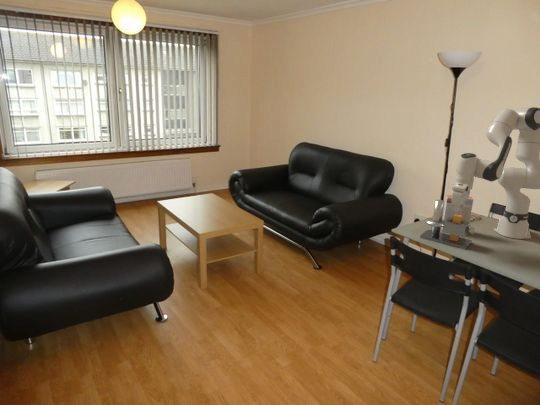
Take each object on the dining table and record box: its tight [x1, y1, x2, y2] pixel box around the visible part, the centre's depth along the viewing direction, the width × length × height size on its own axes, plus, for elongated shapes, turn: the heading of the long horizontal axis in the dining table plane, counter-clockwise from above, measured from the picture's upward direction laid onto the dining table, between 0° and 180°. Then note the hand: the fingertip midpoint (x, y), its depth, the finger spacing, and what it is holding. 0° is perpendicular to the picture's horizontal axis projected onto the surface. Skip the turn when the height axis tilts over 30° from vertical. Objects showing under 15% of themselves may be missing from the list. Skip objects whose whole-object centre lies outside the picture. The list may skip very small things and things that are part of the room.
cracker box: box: [441, 194, 474, 232], centre depth 230 cm, size 14×6×21 cm, turn 76°
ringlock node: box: [419, 199, 476, 250], centre depth 215 cm, size 12×25×22 cm, turn 50°
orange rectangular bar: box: [449, 214, 463, 241], centre depth 213 cm, size 3×4×14 cm
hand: (459, 209), depth 210 cm, fingers open, 8 cm apart
